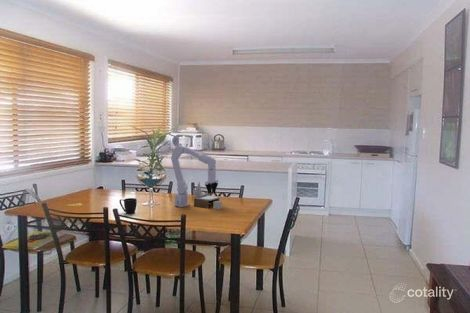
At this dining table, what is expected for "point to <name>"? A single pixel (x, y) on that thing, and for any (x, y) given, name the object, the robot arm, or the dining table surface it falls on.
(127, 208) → the mug
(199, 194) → the crystal
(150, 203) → the dining table surface
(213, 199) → the trapdoor
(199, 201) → the frame
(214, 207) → the white block
